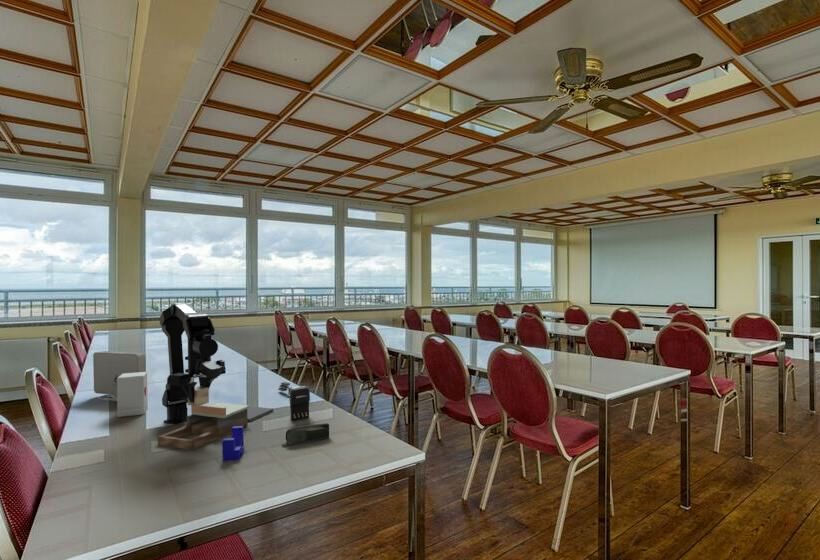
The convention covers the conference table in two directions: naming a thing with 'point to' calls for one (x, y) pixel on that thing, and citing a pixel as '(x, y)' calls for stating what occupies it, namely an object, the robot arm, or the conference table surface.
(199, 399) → the beech block
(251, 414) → the charcoal mat
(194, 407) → the sliding cover
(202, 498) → the conference table surface
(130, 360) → the network device
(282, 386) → the extruded letter logo
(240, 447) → the cable clip
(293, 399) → the battery charger
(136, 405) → the supplement box
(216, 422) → the wooden box
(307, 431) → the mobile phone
